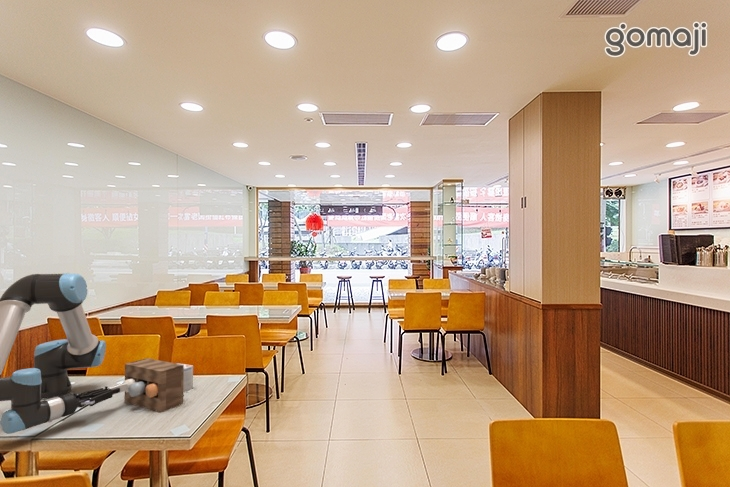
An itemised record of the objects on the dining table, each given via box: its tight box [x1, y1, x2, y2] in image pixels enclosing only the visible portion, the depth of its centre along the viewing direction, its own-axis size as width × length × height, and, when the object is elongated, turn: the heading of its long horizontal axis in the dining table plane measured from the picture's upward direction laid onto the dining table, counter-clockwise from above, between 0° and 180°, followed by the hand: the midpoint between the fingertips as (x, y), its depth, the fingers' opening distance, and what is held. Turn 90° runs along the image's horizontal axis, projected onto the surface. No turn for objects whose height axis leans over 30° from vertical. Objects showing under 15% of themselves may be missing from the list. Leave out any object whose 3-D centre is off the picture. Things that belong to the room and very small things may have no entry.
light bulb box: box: [175, 362, 194, 393], centre depth 180 cm, size 11×7×11 cm, turn 67°
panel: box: [124, 357, 184, 413], centre depth 163 cm, size 24×10×16 cm, turn 63°
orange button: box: [145, 383, 158, 398], centre depth 158 cm, size 5×8×5 cm, turn 153°
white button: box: [122, 378, 147, 393], centre depth 163 cm, size 5×8×5 cm, turn 153°
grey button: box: [128, 381, 147, 397], centre depth 159 cm, size 5×8×5 cm, turn 153°
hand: (125, 386), depth 159 cm, fingers closed
